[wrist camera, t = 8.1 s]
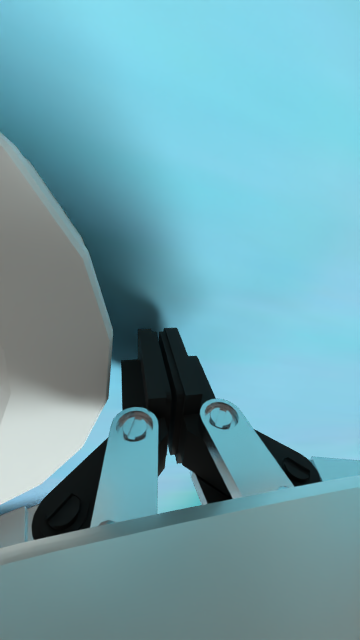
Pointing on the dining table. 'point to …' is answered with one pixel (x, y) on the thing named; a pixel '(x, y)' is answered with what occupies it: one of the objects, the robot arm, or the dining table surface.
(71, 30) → the dining table surface
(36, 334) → the lid
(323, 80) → the dining table surface
